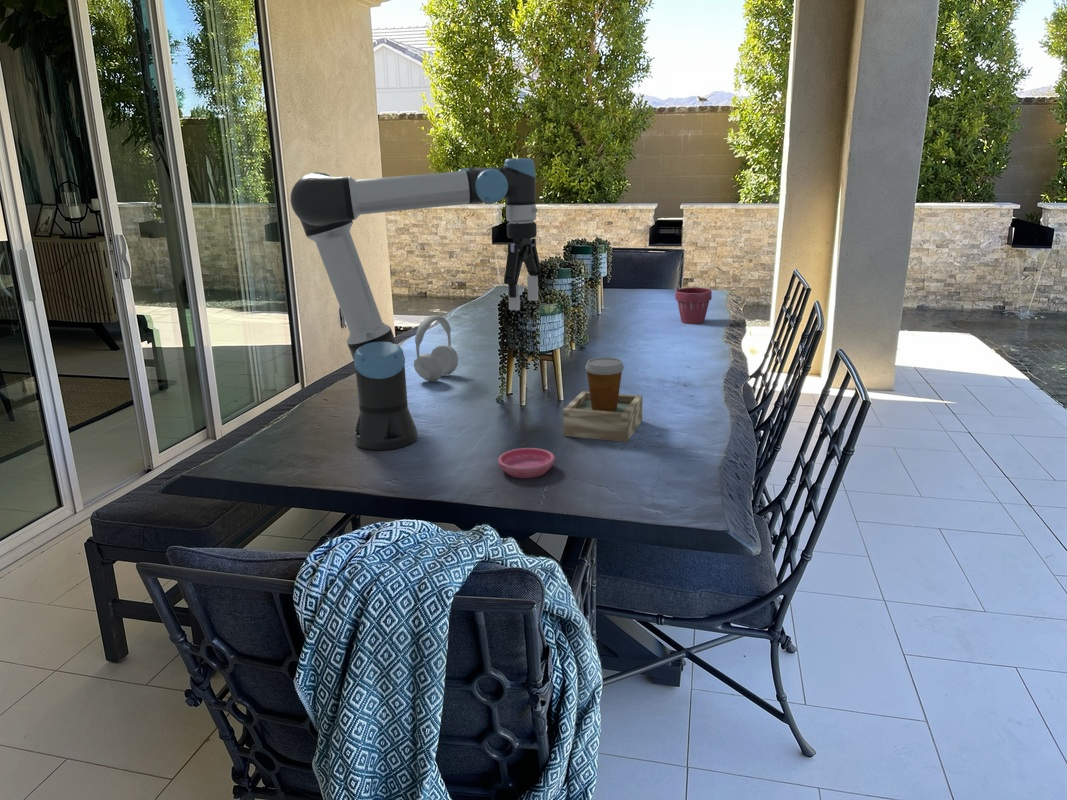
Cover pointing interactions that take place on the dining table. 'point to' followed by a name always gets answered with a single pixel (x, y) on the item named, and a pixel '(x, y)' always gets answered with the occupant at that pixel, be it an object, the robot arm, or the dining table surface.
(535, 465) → the saucer
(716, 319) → the dining table surface
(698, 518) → the dining table surface
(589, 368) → the disposable coffee cup
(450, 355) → the headphones
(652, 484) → the dining table surface
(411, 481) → the dining table surface
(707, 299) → the plant pot
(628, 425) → the open wooden box
